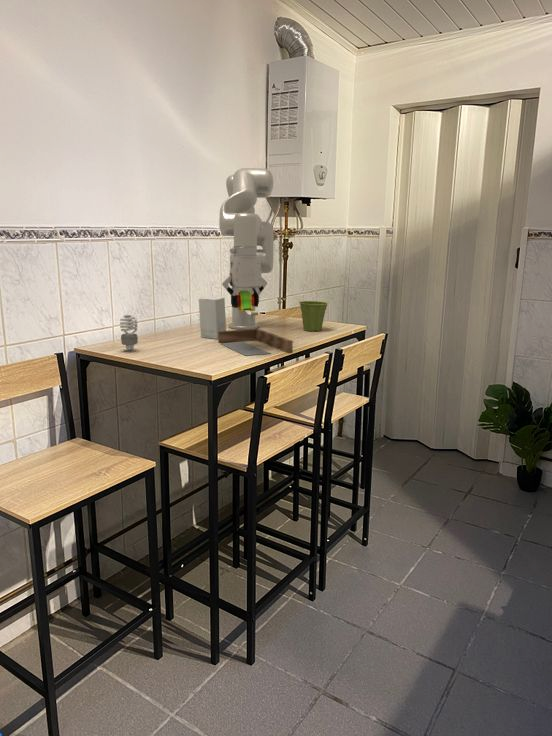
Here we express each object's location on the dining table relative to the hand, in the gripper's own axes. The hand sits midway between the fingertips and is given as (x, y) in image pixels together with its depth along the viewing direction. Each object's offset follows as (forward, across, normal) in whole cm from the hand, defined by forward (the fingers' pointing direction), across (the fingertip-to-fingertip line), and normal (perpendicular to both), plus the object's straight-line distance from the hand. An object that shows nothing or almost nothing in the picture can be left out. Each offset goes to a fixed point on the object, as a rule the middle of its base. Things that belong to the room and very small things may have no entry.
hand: (245, 306), depth 192 cm
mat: (+14, 0, 0) cm, 14 cm away
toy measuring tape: (+2, -1, -3) cm, 3 cm away
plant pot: (+15, +41, +23) cm, 49 cm away
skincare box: (+15, -2, +24) cm, 28 cm away
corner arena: (+14, +4, +1) cm, 15 cm away
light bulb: (+15, -36, +12) cm, 41 cm away
